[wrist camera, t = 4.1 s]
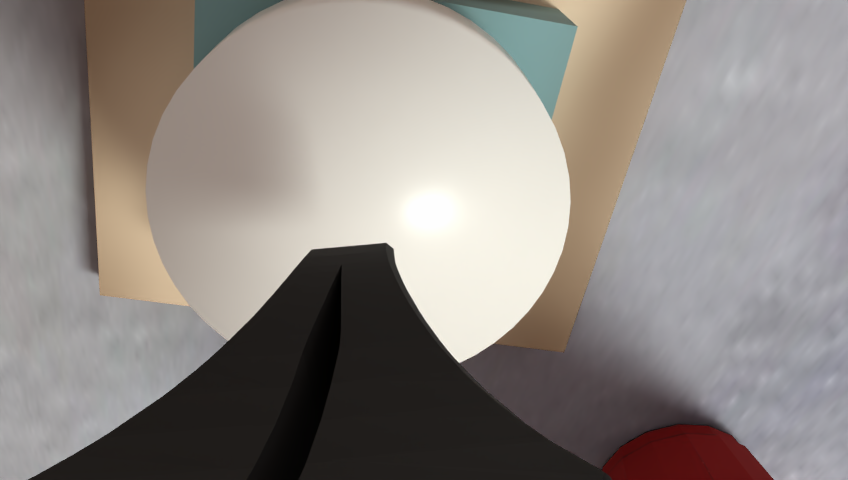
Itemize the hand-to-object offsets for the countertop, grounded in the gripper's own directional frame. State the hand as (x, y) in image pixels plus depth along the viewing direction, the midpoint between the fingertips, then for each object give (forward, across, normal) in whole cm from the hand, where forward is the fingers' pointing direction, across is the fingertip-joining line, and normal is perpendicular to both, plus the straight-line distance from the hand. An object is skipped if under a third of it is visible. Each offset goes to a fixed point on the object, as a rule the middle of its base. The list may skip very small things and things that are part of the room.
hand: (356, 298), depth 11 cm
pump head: (+7, 0, 0) cm, 7 cm away
